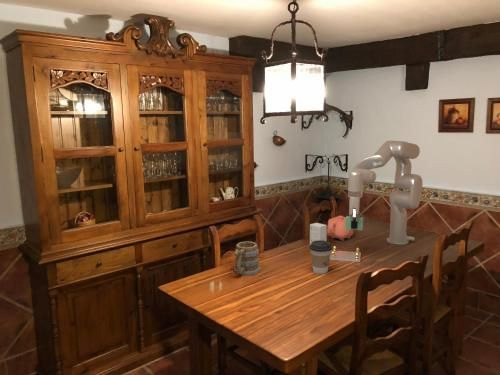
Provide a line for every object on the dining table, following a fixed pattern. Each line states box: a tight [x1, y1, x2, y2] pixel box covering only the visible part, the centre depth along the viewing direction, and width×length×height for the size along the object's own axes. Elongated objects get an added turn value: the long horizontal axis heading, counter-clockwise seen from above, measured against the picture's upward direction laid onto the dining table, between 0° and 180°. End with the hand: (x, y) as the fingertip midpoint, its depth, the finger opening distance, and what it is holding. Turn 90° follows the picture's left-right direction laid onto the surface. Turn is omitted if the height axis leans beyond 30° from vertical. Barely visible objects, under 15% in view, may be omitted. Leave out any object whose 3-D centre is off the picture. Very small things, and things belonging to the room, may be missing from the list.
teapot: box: [327, 215, 355, 242], centre depth 265 cm, size 22×13×14 cm, turn 135°
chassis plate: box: [329, 245, 362, 263], centre depth 232 cm, size 16×12×4 cm
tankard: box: [233, 240, 261, 276], centre depth 211 cm, size 20×13×15 cm, turn 154°
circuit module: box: [345, 215, 364, 231], centre depth 227 cm, size 9×5×6 cm, turn 72°
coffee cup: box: [308, 240, 333, 275], centre depth 211 cm, size 11×11×15 cm
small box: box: [309, 222, 328, 246], centre depth 251 cm, size 8×6×13 cm
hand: (354, 226), depth 227 cm, fingers closed on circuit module, 5 cm apart
